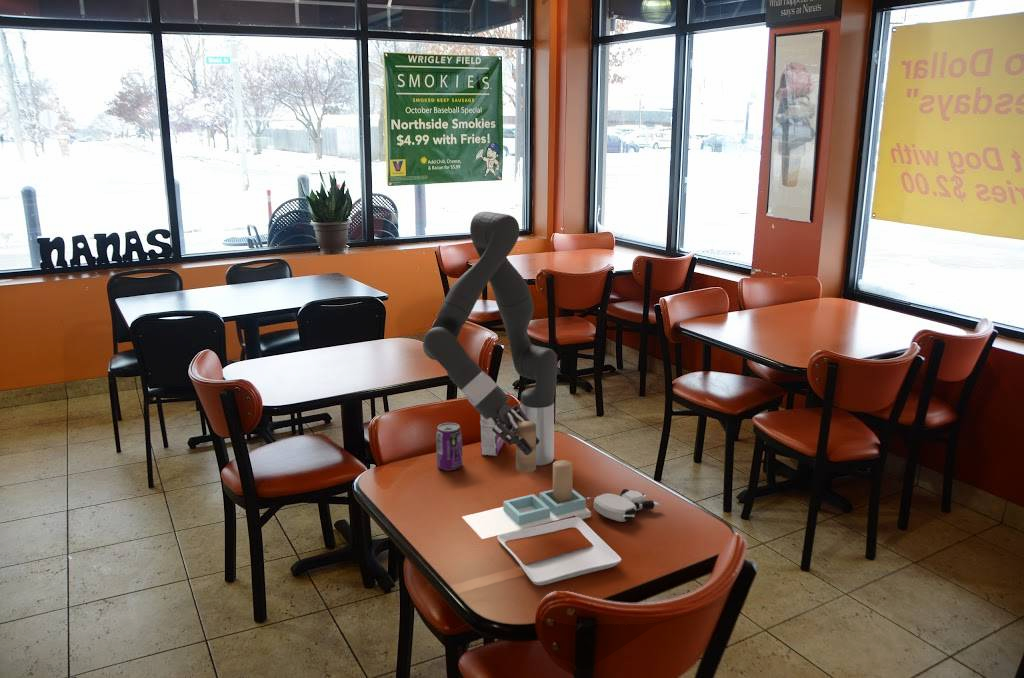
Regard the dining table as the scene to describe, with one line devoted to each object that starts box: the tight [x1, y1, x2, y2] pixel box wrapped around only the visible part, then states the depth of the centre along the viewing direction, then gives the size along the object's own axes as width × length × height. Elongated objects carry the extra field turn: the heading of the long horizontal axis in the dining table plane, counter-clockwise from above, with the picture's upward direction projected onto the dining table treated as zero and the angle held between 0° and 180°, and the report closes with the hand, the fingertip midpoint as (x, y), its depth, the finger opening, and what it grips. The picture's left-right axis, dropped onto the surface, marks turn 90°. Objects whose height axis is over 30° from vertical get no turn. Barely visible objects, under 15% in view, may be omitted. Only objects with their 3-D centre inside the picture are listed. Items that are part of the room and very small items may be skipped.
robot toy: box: [586, 488, 660, 523], centre depth 200 cm, size 12×4×15 cm
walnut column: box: [515, 421, 537, 473], centre depth 192 cm, size 5×5×11 cm
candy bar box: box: [479, 413, 506, 457], centre depth 237 cm, size 11×5×16 cm, turn 168°
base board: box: [461, 459, 592, 540], centre depth 196 cm, size 12×29×12 cm, turn 116°
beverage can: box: [435, 422, 464, 471], centre depth 226 cm, size 7×7×12 cm
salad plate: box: [496, 516, 622, 586], centre depth 180 cm, size 21×21×3 cm
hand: (533, 448), depth 192 cm, fingers closed on walnut column, 4 cm apart
